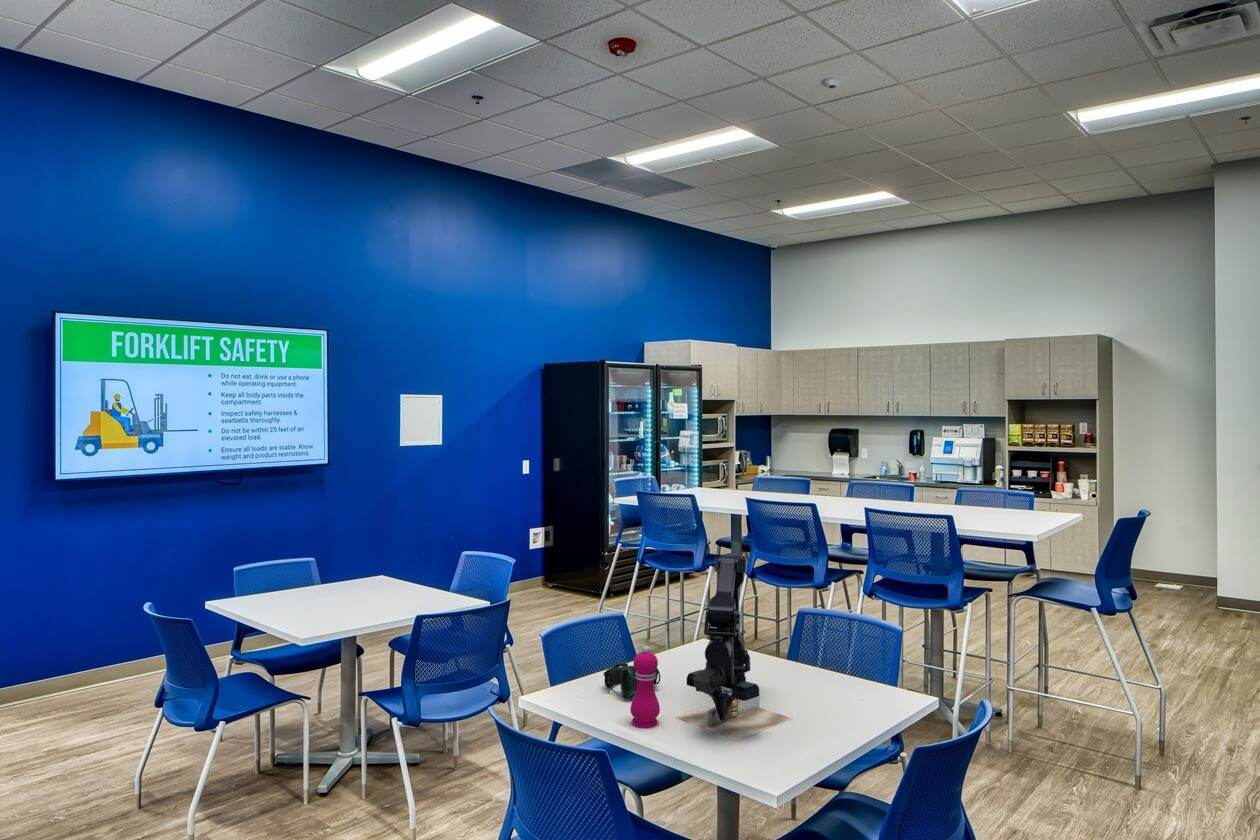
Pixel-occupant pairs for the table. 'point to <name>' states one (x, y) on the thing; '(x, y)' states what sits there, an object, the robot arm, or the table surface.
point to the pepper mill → (645, 691)
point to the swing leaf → (714, 717)
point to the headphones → (624, 679)
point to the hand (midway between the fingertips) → (722, 720)
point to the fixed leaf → (744, 706)
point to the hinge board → (736, 722)
